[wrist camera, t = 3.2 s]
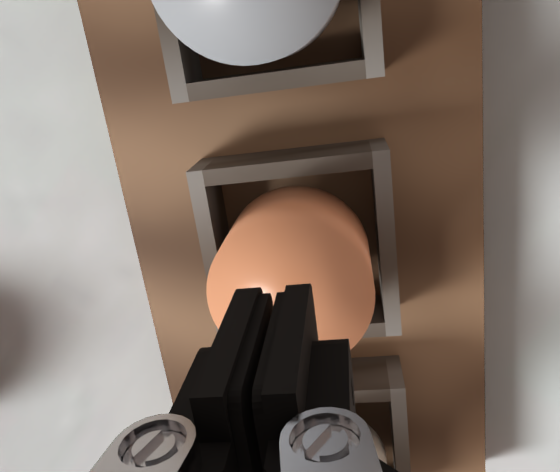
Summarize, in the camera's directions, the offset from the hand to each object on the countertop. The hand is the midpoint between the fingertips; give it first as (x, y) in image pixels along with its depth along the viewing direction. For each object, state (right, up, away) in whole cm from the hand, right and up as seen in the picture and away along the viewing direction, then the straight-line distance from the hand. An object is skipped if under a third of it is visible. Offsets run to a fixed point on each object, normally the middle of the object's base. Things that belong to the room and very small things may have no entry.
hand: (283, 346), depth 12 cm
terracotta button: (0, +2, +5) cm, 5 cm away
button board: (+1, +3, +8) cm, 9 cm away
